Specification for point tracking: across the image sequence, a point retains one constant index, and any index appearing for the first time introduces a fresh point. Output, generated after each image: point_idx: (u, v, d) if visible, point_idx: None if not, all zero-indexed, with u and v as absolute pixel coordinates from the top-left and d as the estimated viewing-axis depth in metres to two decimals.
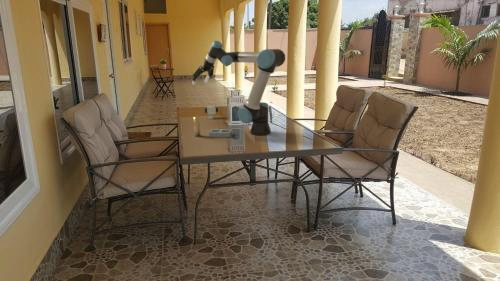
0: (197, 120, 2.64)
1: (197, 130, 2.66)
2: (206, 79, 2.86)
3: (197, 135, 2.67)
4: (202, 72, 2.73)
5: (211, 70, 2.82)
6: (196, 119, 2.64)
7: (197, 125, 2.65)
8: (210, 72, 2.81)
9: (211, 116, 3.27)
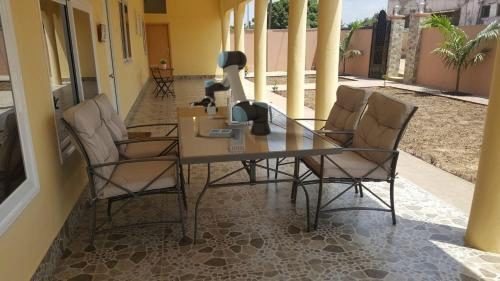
0: (197, 120, 2.64)
1: (197, 130, 2.66)
2: None
3: (197, 135, 2.67)
4: (198, 102, 2.85)
5: None
6: (196, 119, 2.64)
7: (197, 125, 2.65)
8: (210, 102, 2.83)
9: (211, 116, 3.27)
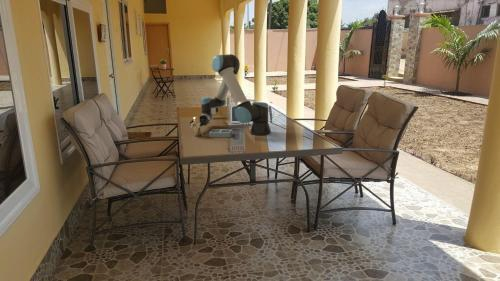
0: (197, 120, 2.64)
1: (197, 130, 2.66)
2: None
3: (197, 135, 2.67)
4: None
5: None
6: (196, 119, 2.64)
7: (197, 125, 2.65)
8: (203, 121, 2.72)
9: None
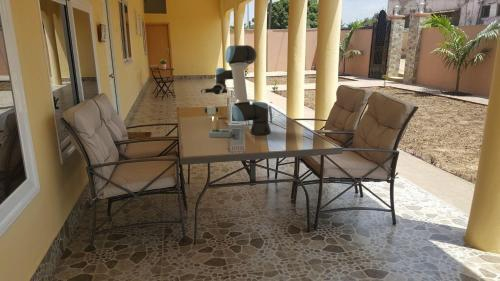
0: (216, 120, 2.64)
1: (216, 130, 2.66)
2: None
3: None
4: (210, 89, 2.83)
5: None
6: (215, 119, 2.64)
7: (216, 125, 2.65)
8: (221, 89, 2.81)
9: (211, 116, 3.27)
